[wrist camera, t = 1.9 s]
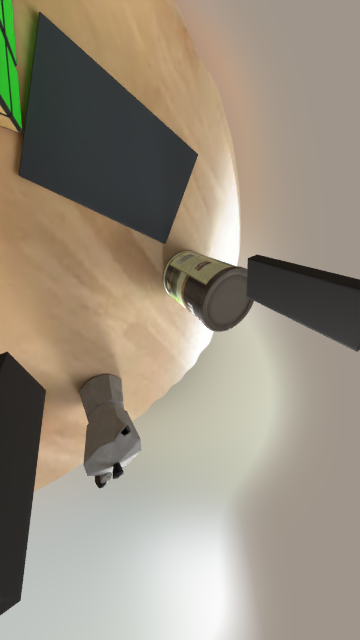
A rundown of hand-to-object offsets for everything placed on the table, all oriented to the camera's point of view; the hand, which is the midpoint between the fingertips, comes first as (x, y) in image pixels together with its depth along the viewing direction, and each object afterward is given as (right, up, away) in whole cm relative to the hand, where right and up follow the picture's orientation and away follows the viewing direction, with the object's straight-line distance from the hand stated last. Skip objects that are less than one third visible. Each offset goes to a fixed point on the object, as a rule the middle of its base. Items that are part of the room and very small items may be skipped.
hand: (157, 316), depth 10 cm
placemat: (-7, +21, +15) cm, 27 cm away
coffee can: (+2, +9, +29) cm, 30 cm away
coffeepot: (-17, -17, +32) cm, 40 cm away
